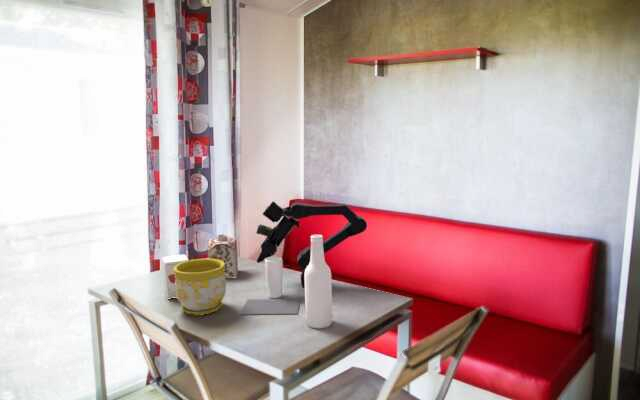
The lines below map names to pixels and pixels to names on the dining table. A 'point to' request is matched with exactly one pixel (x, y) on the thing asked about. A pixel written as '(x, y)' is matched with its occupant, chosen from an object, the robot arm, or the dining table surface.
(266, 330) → the dining table surface
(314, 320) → the alcohol
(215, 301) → the flowerpot
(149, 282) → the dining table surface
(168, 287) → the supplement box
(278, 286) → the drinking glass
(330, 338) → the dining table surface
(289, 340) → the dining table surface
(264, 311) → the mat
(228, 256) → the decorative jar
